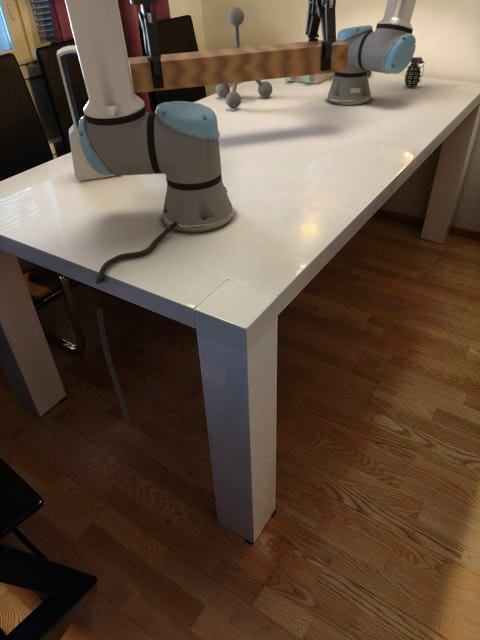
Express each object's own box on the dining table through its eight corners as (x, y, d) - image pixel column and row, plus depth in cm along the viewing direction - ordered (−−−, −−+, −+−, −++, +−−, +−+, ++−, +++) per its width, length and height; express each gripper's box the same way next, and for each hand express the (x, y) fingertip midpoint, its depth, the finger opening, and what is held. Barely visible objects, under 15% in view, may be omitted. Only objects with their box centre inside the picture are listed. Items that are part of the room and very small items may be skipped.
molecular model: (285, 103, 178) (286, 6, 160) (229, 112, 172) (223, 12, 154) (260, 90, 196) (258, 1, 177) (208, 97, 190) (200, 6, 171)
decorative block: (306, 53, 217) (348, 56, 208) (306, 69, 221) (346, 73, 212) (276, 65, 201) (319, 68, 192) (276, 82, 205) (318, 86, 196)
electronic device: (76, 181, 127) (42, 52, 109) (76, 171, 133) (43, 47, 115) (124, 174, 130) (98, 47, 111) (122, 165, 135) (97, 42, 117)
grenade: (402, 88, 186) (407, 59, 180) (402, 85, 191) (406, 56, 185) (420, 88, 185) (425, 59, 179) (420, 85, 189) (424, 56, 183)
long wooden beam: (134, 93, 128) (129, 64, 124) (132, 85, 136) (127, 57, 132) (346, 71, 138) (348, 43, 134) (333, 65, 146) (335, 38, 141)
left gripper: (163, -14, 111) (176, 91, 125) (153, -19, 128) (165, 74, 142) (130, -12, 110) (146, 94, 124) (125, -17, 127) (140, 76, 141)
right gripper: (354, -28, 119) (346, 73, 132) (320, -31, 136) (317, 59, 150) (325, -26, 117) (320, 76, 131) (295, -29, 135) (293, 61, 148)
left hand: (157, 83), depth 133 cm, fingers closed on long wooden beam, 10 cm apart
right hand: (318, 67), depth 140 cm, fingers closed on long wooden beam, 10 cm apart
